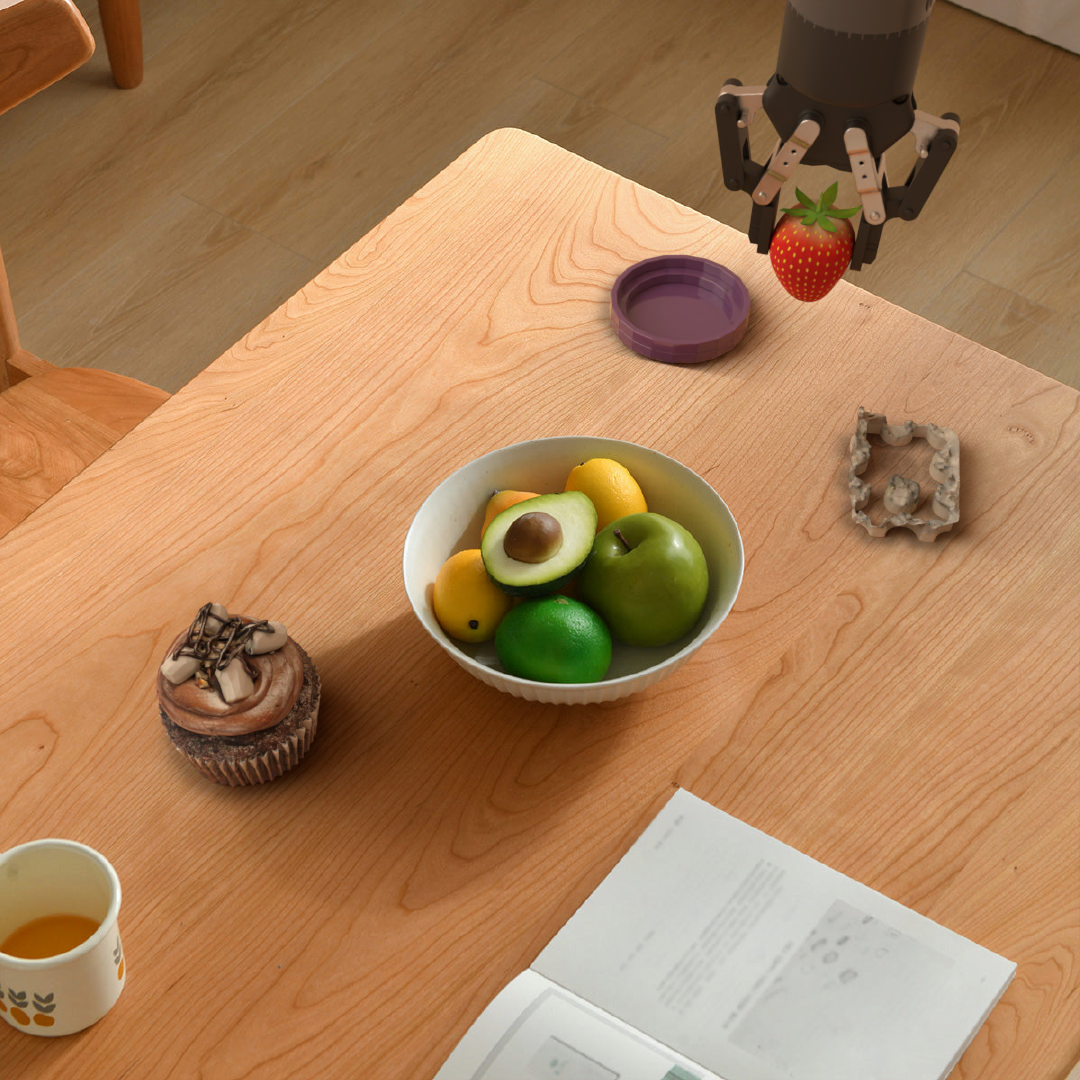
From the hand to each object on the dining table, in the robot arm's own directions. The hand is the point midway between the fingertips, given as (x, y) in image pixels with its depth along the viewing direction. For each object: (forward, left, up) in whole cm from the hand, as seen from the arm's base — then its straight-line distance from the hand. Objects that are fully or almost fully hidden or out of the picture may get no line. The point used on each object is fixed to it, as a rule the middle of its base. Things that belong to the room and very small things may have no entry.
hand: (809, 253), depth 84 cm
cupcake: (+26, +32, -20) cm, 46 cm away
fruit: (0, 0, -4) cm, 4 cm away
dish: (+10, -14, -20) cm, 26 cm away
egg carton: (-9, 0, -20) cm, 22 cm away
